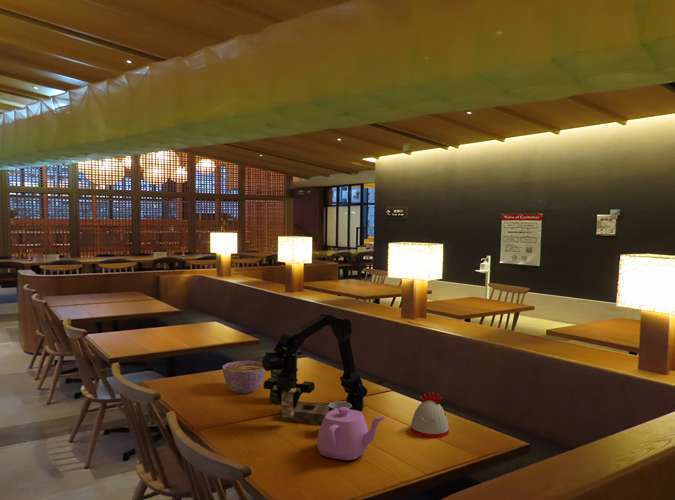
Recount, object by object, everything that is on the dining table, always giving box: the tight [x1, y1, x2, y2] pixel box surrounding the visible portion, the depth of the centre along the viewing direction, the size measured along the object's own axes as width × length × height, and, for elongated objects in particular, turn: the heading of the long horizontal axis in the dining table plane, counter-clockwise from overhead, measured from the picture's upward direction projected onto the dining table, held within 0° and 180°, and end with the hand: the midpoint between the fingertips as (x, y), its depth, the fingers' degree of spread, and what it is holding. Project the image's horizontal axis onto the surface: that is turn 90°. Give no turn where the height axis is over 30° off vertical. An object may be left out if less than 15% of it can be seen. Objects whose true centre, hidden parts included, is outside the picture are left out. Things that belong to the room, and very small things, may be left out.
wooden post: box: [280, 390, 296, 418], centre depth 201 cm, size 4×4×9 cm
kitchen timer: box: [410, 391, 450, 439], centre depth 199 cm, size 14×14×15 cm
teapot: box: [316, 407, 386, 461], centre depth 176 cm, size 23×21×15 cm
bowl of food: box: [221, 360, 266, 395], centre depth 244 cm, size 20×20×12 cm
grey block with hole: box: [280, 400, 330, 426], centre depth 211 cm, size 18×12×4 cm, turn 76°
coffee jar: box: [269, 368, 292, 405], centre depth 230 cm, size 10×8×19 cm
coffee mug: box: [328, 401, 353, 412], centre depth 197 cm, size 12×9×10 cm
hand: (288, 407), depth 201 cm, fingers closed on wooden post, 4 cm apart
